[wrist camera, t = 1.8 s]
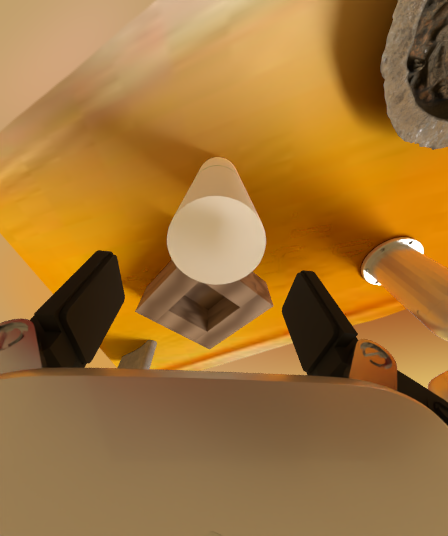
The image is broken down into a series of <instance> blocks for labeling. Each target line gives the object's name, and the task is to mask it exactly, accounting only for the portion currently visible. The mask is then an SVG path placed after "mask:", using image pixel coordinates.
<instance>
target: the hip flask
mask: <svg viewBox="0 0 448 536" xmlns="http://www.w3.org/2000/svg"><path fill="white" fill-rule="evenodd" d="M156 344H157V343H156V342H155V341H153V340H148V341H147V342H146V343H145V344H144V345H142V346H141V347H140V348H138V349H137V350H135V351H133V352H132V353H129V354H127V355H124V356H123V357H122V359H121V361H120V363H119V366H118V368H119V369H149V368H150V365H151V361H152V358H153V355H154V351H155V348H156Z"/></svg>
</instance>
